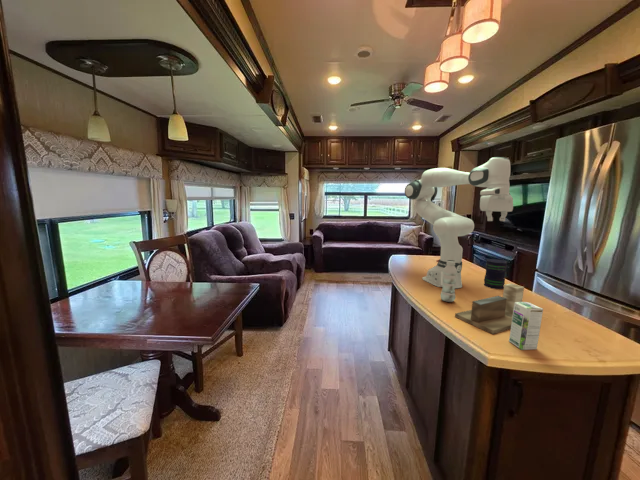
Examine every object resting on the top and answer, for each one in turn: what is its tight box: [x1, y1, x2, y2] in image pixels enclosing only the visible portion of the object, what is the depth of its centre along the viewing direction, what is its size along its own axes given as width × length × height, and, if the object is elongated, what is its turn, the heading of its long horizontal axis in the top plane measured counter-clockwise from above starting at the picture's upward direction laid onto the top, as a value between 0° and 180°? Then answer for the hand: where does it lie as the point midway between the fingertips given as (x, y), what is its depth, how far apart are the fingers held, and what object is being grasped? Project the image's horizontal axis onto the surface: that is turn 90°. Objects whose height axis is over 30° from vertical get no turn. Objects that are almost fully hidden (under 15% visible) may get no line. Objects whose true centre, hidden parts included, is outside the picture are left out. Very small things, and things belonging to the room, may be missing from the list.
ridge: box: [454, 295, 512, 335], centre depth 110 cm, size 16×18×9 cm
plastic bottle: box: [440, 260, 458, 303], centre depth 130 cm, size 6×7×20 cm
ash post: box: [502, 282, 525, 318], centre depth 116 cm, size 5×5×13 cm
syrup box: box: [508, 301, 544, 351], centre depth 91 cm, size 6×6×14 cm
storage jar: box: [483, 258, 508, 290], centre depth 154 cm, size 10×10×15 cm
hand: (496, 221), depth 130 cm, fingers open, 8 cm apart
